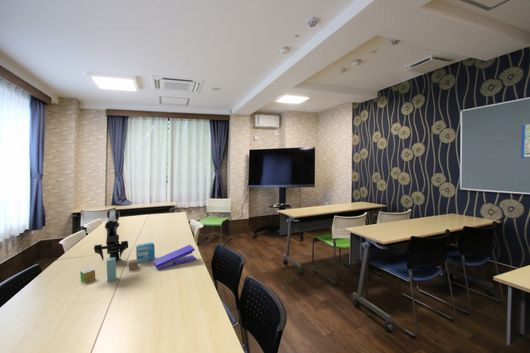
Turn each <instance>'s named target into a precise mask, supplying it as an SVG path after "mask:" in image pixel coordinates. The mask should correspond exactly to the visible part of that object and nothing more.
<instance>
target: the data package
mask: <svg viewBox="0 0 530 353" xmlns="http://www.w3.org/2000/svg"><path fill="white" fill-rule="evenodd" d="M135 247H136V248H135V250H136V252H135V254H136V259H137V263H142V262H148V261H149V262H150V261H154V260H155V259H156V251H155V243H154V242H147V243H145V242H144V243H140V244H139V243H138V244H137V245H136V246H135Z"/></svg>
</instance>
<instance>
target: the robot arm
mask: <svg viewBox="0 0 530 353" xmlns="http://www.w3.org/2000/svg"><path fill="white" fill-rule="evenodd" d="M120 216H121V212H120V210H119V209H116V208H113V209H109V210H107V212H106V217H107V220H106V223H105V224H104V229H105V231H106V241H105V242H106V243H105V244H106V245H103V244H102V243H101V244H95V245H94V246H93V250H94V253H95V254H97V255H99V256H100V257H101V259H102V260H101V261H104V260H105V259H104V251H103V250H106V253H107V254H106V255H108V256H109V258H112V257H116V262H118V261H121V260H122V255H123V253H124V251H125V250H127V249H128V248H129V241H128V240H121V241H120V235H119V234H118V231H117V230H118V228H119V227H120V223H119V222H118V221H119V220H120Z"/></svg>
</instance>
